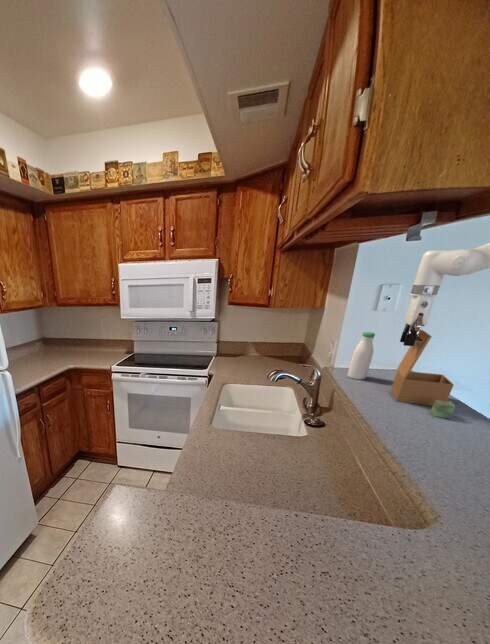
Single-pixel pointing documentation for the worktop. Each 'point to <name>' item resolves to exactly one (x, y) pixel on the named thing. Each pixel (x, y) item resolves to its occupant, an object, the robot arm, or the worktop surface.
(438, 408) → the block
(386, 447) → the worktop surface
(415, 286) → the robot arm
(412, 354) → the flap
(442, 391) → the carton
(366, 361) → the milk bottle
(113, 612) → the worktop surface
